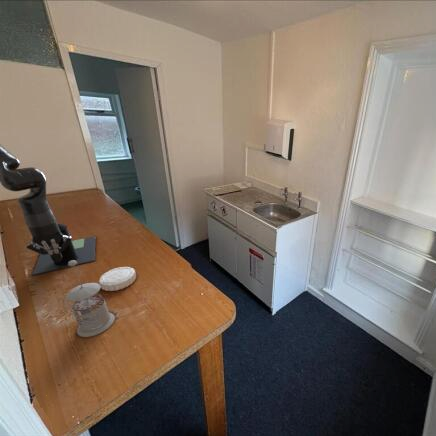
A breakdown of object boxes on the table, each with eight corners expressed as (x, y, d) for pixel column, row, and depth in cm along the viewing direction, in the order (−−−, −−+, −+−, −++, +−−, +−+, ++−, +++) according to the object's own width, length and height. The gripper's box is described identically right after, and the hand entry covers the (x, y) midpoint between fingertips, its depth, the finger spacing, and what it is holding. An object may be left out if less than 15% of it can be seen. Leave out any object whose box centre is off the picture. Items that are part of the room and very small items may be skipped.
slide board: (32, 275, 95) (32, 274, 95) (43, 246, 113) (43, 246, 113) (94, 260, 106) (94, 260, 106) (95, 236, 125) (95, 236, 125)
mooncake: (110, 295, 88) (108, 288, 86) (94, 284, 93) (92, 276, 91) (142, 278, 97) (140, 271, 96) (126, 268, 102) (124, 262, 101)
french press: (102, 336, 72) (77, 271, 62) (62, 337, 71) (29, 271, 61) (121, 312, 81) (101, 251, 71) (85, 312, 80) (60, 251, 70)
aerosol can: (72, 253, 110) (58, 214, 101) (82, 258, 106) (67, 219, 98) (50, 261, 103) (32, 221, 94) (59, 267, 100) (42, 226, 91)
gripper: (66, 215, 93) (80, 251, 100) (18, 222, 85) (36, 261, 93) (64, 222, 87) (79, 260, 95) (13, 230, 80) (33, 271, 87)
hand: (58, 260), depth 94 cm, fingers closed
